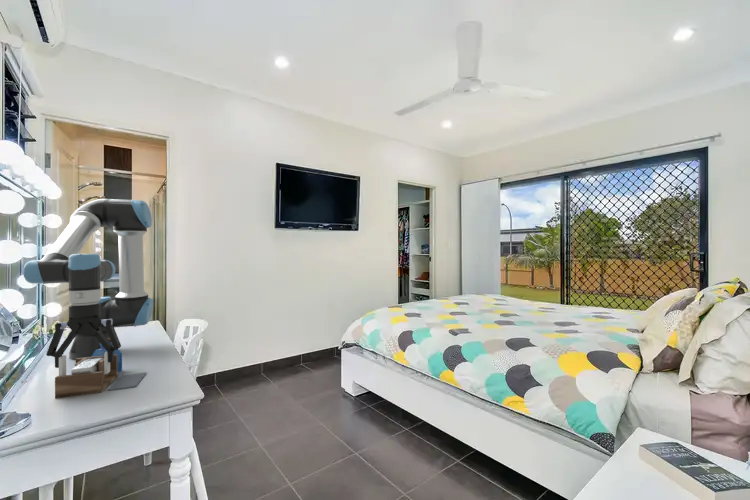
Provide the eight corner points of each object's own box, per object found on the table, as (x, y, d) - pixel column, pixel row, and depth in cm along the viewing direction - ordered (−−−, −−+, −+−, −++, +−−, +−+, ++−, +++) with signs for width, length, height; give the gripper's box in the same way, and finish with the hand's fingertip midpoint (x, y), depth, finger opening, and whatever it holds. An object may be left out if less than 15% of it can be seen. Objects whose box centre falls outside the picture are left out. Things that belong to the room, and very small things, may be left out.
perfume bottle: (105, 377, 116) (104, 341, 116) (90, 375, 117) (90, 340, 117) (122, 370, 122) (121, 337, 122) (107, 369, 123) (107, 336, 123)
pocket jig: (77, 380, 112) (77, 358, 112) (117, 376, 116) (117, 354, 116) (55, 398, 99) (54, 372, 99) (101, 392, 103) (101, 367, 103)
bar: (85, 370, 111) (85, 359, 111) (103, 368, 113) (102, 357, 113) (71, 381, 102) (71, 369, 102) (90, 378, 103) (90, 367, 103)
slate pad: (122, 376, 116) (122, 375, 116) (146, 373, 119) (146, 372, 119) (108, 390, 104) (108, 389, 104) (135, 387, 107) (135, 386, 107)
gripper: (29, 307, 98) (30, 385, 98) (125, 302, 106) (126, 374, 106) (43, 304, 105) (44, 376, 105) (132, 299, 113) (133, 366, 113)
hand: (85, 375), depth 105 cm, fingers open, 10 cm apart
